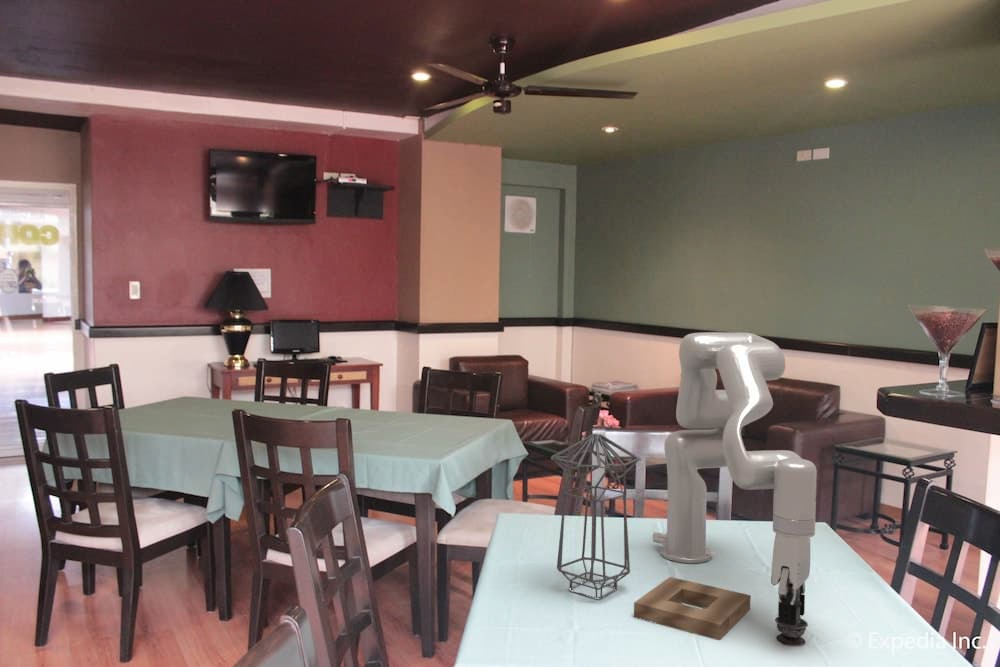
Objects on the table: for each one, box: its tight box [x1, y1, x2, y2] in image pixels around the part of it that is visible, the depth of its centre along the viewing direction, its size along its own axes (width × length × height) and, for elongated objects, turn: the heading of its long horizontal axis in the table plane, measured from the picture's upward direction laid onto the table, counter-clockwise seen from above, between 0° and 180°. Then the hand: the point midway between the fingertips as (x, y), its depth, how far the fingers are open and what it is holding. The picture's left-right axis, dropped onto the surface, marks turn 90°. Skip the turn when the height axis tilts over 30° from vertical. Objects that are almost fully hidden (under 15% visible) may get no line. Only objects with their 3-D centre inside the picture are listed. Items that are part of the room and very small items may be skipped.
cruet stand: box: [633, 576, 752, 641], centre depth 164 cm, size 18×18×3 cm
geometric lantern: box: [550, 433, 642, 599], centre depth 176 cm, size 16×16×35 cm
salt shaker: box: [774, 583, 809, 647], centre depth 152 cm, size 6×6×12 cm
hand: (791, 617), depth 152 cm, fingers open, 4 cm apart
